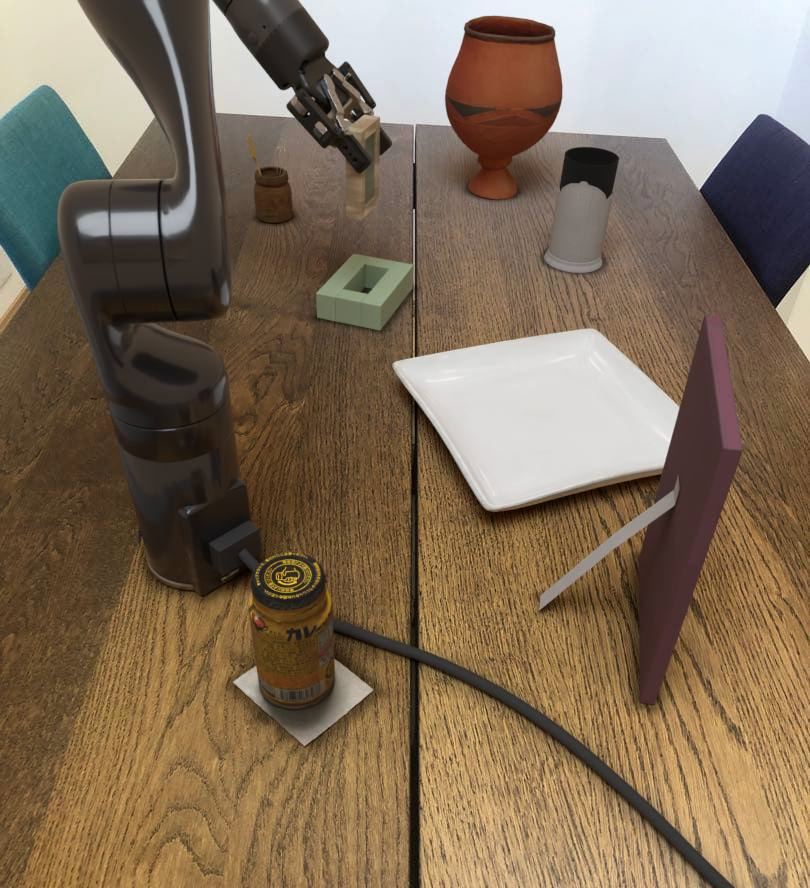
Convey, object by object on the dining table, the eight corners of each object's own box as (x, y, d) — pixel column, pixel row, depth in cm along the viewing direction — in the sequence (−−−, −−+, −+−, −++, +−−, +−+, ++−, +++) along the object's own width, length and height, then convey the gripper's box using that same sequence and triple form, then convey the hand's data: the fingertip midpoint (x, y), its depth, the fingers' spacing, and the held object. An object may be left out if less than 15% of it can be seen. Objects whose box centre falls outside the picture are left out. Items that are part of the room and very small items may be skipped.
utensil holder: (288, 225, 129) (282, 145, 121) (249, 222, 130) (241, 142, 122) (297, 211, 133) (293, 133, 125) (260, 207, 134) (253, 129, 126)
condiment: (302, 633, 69) (293, 528, 60) (373, 691, 65) (374, 587, 56) (233, 683, 65) (213, 578, 57) (304, 748, 61) (294, 645, 52)
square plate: (387, 387, 96) (388, 358, 94) (589, 351, 104) (595, 323, 101) (483, 535, 78) (487, 504, 76) (720, 479, 86) (731, 449, 83)
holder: (316, 317, 108) (315, 293, 106) (353, 276, 117) (353, 253, 115) (380, 331, 106) (380, 306, 104) (412, 288, 115) (413, 264, 113)
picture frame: (654, 705, 65) (759, 452, 47) (530, 682, 66) (589, 428, 49) (651, 561, 76) (733, 317, 59) (546, 543, 78) (597, 300, 61)
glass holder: (538, 266, 121) (554, 161, 111) (557, 230, 131) (573, 130, 121) (597, 277, 120) (619, 170, 109) (611, 239, 129) (632, 139, 119)
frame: (346, 218, 99) (344, 129, 92) (364, 200, 103) (364, 114, 96) (361, 220, 98) (361, 132, 91) (379, 202, 102) (380, 116, 95)
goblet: (491, 221, 133) (510, 46, 116) (416, 184, 144) (422, 20, 127) (570, 195, 142) (598, 30, 125) (494, 163, 153) (510, 6, 136)
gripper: (268, 18, 83) (376, 158, 88) (324, -7, 93) (418, 120, 98) (227, 70, 88) (332, 200, 93) (285, 41, 98) (377, 159, 103)
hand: (376, 158), depth 96 cm, fingers closed on frame, 6 cm apart
